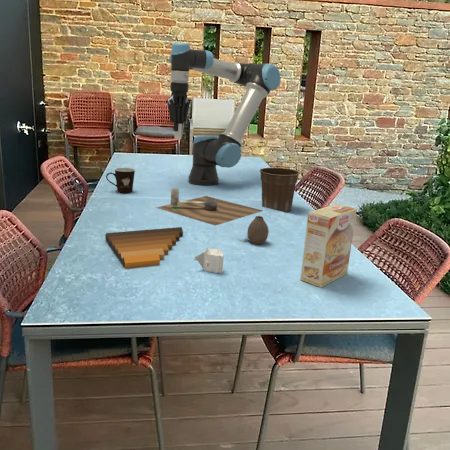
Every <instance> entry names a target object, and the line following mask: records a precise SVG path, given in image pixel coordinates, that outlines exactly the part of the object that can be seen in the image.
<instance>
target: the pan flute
mask: <svg viewBox="0 0 450 450" xmlns="http://www.w3.org/2000/svg"><path fill="white" fill-rule="evenodd" d="M183 235H184V230H183V228H182V226H179V227H178V226H176V227H167V228H153V229H152V228H151V229H141V230H128V231H127V230H126V231H116V232H113V231H112V232H106V233H105V234H104V237H105V242H106V243H107V244H108V246H109V248H110V249H111V251H112V252H113V253H114V255H115V256H116V258H117V259H118V260H119V263H120V264H121V265H122V266H123V268H124V269H129V268H136V267H137V268H139V267H145V266H156V265H160V264H161V263H160V262H161V260H164V259H165V255H169V250H172V249H173V245H174V246H175V245H176V244H177V241H180V237H183Z"/></svg>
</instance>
